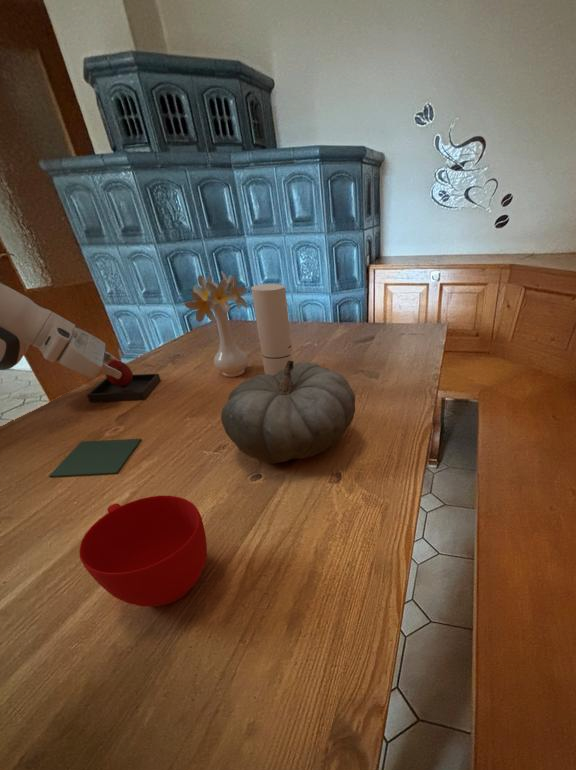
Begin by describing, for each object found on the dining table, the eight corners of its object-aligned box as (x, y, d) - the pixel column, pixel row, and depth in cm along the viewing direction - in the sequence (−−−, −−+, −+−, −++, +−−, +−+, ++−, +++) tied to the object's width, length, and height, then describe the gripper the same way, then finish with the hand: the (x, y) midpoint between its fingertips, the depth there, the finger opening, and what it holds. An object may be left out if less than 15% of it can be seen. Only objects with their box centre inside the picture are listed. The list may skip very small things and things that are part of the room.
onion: (133, 381, 103) (122, 352, 98) (139, 388, 99) (128, 358, 94) (109, 387, 100) (97, 357, 95) (115, 394, 96) (102, 363, 91)
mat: (49, 477, 70) (48, 475, 70) (82, 443, 80) (81, 441, 79) (117, 474, 71) (116, 472, 70) (141, 440, 80) (140, 438, 80)
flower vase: (201, 387, 101) (172, 283, 86) (220, 362, 116) (198, 269, 101) (250, 386, 101) (230, 282, 86) (263, 361, 116) (248, 268, 101)
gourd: (387, 435, 76) (371, 350, 65) (283, 506, 65) (243, 419, 55) (316, 404, 92) (293, 333, 82) (224, 457, 82) (185, 383, 71)
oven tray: (90, 402, 95) (86, 394, 94) (111, 382, 105) (108, 375, 103) (144, 400, 96) (142, 392, 94) (161, 380, 105) (158, 373, 104)
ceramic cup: (174, 523, 60) (152, 471, 54) (238, 579, 51) (221, 525, 45) (85, 573, 52) (48, 520, 46) (143, 650, 44) (107, 596, 37)
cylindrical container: (301, 391, 99) (290, 284, 84) (290, 403, 93) (276, 291, 78) (276, 388, 100) (260, 283, 85) (263, 400, 95) (244, 289, 80)
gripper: (56, 335, 96) (115, 367, 105) (43, 361, 81) (113, 396, 90) (69, 314, 95) (127, 348, 104) (58, 337, 80) (127, 374, 89)
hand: (121, 371), depth 97 cm, fingers closed on onion, 6 cm apart
